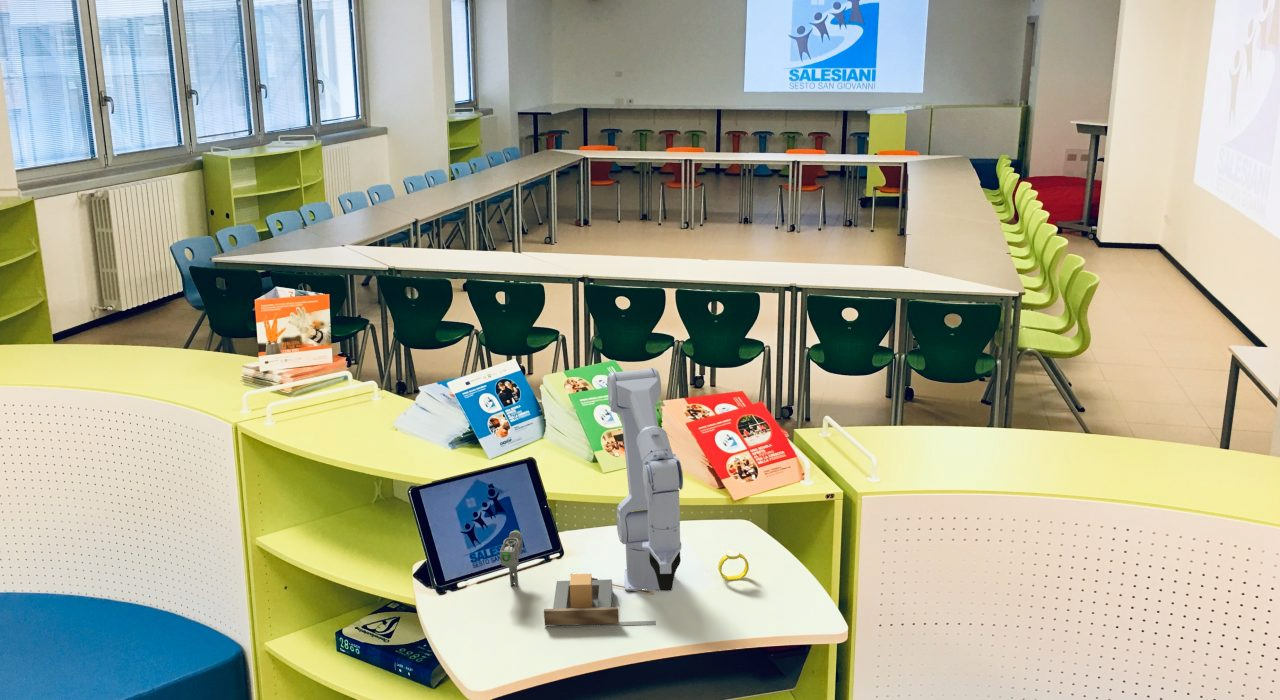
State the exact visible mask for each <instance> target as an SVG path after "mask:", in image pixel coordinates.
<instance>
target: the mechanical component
mask: <svg viewBox="0 0 1280 700" xmlns="http://www.w3.org/2000/svg"><path fill="white" fill-rule="evenodd" d="M523 543H524V542H523V534H522V533H521V531H519V530H518V529H514V530H513V531H510V533H509V535H508V537H507V538H505V539H504V540H503V544H502V546H501V547H500V550H499V559H500V565H501V566H503V567H507V568H508V570H509V572H508V573H509V582H510V583H509V585H510V586H511V587H512V586H513V585H514V586H516V587H517V586H518V587H519V578H518V577H519V575H518V567H519V565H520V562H519V558H520V556H521V553H522V551H523V545H524V544H523Z"/></svg>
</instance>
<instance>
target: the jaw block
mask: <svg viewBox="0 0 1280 700" xmlns="http://www.w3.org/2000/svg"><path fill="white" fill-rule="evenodd" d="M592 580H593V578H592V573H579V574H578V573H573V574H572V573H571V574H570V578H569V581H570V598H571V608H592V606H593V594H592Z"/></svg>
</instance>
